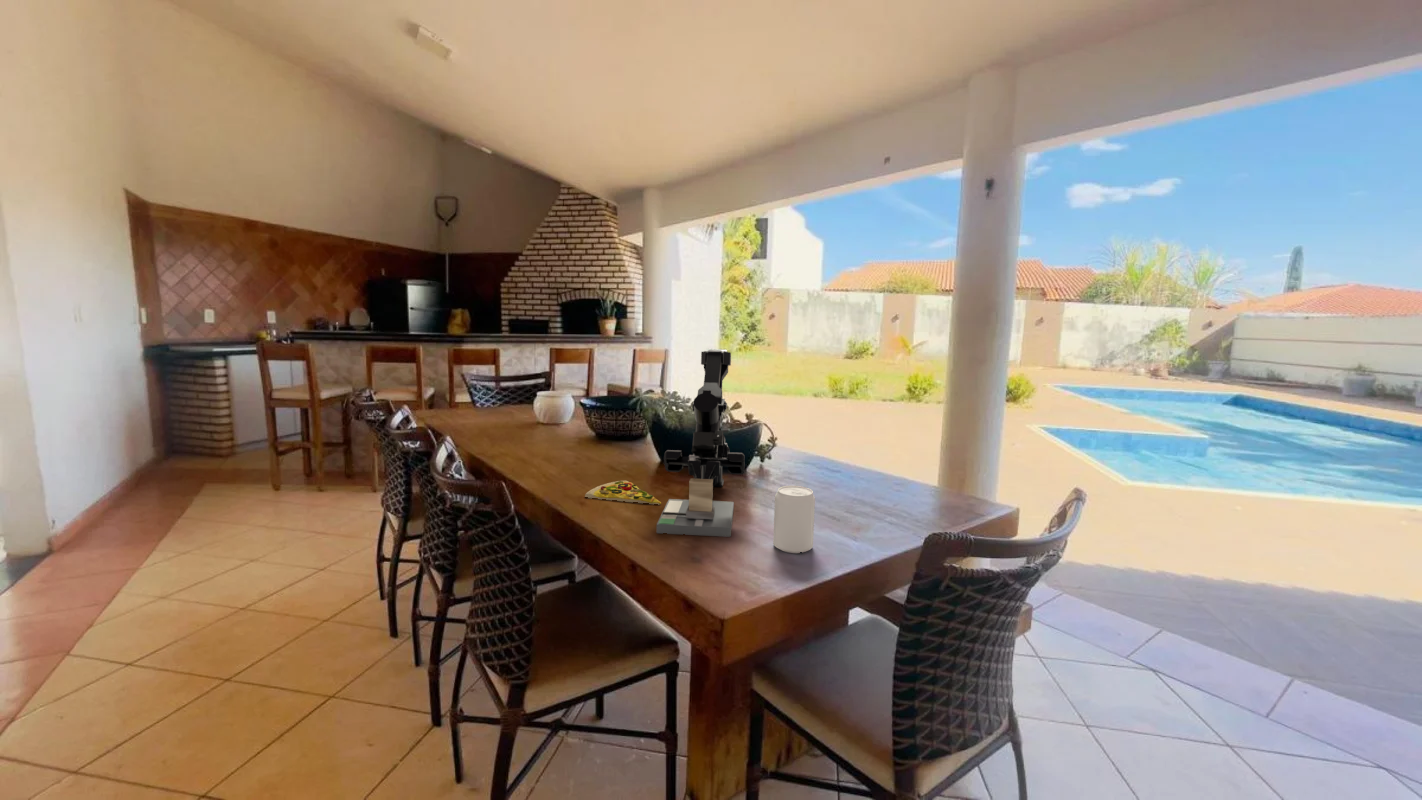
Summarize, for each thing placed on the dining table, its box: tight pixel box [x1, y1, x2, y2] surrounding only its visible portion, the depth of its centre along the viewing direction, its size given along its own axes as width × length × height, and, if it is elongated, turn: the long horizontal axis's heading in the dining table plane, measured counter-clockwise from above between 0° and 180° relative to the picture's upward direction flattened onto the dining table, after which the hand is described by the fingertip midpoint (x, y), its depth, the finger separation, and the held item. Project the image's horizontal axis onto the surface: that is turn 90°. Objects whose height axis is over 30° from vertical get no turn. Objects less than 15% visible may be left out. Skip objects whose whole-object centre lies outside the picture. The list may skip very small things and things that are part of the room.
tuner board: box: [656, 498, 735, 538], centre depth 132 cm, size 18×16×2 cm
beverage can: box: [772, 485, 816, 554], centre depth 117 cm, size 8×8×12 cm
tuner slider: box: [661, 478, 715, 519], centre depth 128 cm, size 5×12×8 cm, turn 86°
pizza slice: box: [584, 480, 662, 506], centre depth 149 cm, size 16×21×3 cm
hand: (701, 494), depth 130 cm, fingers closed, pressing on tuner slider
